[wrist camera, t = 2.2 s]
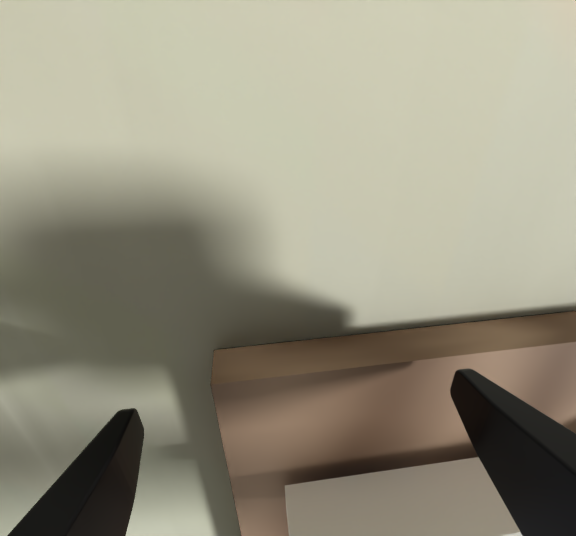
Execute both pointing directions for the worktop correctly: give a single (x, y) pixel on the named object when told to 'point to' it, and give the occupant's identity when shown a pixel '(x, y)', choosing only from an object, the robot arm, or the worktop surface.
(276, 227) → the worktop surface
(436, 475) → the dial needle
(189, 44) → the worktop surface
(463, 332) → the board
